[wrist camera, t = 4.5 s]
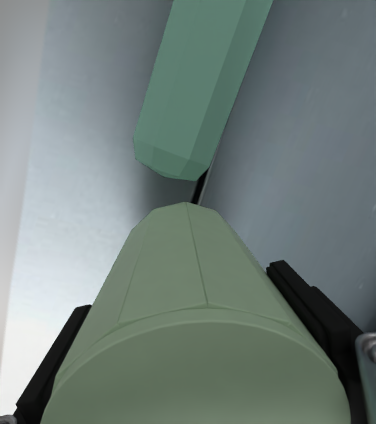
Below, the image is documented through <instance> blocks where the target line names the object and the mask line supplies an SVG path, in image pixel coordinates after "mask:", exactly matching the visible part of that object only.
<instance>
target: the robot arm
mask: <svg viewBox="0 0 376 424" xmlns="http://www.w3.org/2000/svg"><path fill="white" fill-rule="evenodd" d="M266 272H267V275H268V276H269V278H270V279H271V281H272V282H273V283H274V285H275V286H276V287H277V289H278V290H279V291H280V293H281V294H282V295H283V297H284V298H285V299H286V301H287V302H288V304H289V305H290V306H291V308H292V309H293V310H294V312H295V313H296V314H297V316H298V317H299V318H300V320H301V321H302V323H303V324H304V325H305V327H306V328H307V329H308V331H309V332H310V333H311V335H312V336H313V337H314V339H315V340H316V341H317V343H318V344H319V346H320V347H321V348H322V349H323V351H324V352H325V354H326V355H327V356H328V358H329V359H330V360H331V362H332V363H333V364H334V366H335V367H336V369H337V371H338V378H339V380H340V382H341V383H342V385H343V387H344V390H345V393H346V396H347V399H348V402H349V407H350V414H351V424H376V332H367V333H364V332H362V331H361V330H360V329H359V328H358V327H357V326H356V325H355V324H354V323H353V322H352V321H351V320H350V319H349V318H348V317H347V316H346V315H345V314H344V313H343V312H342V311H341V310H340V309H339V308H338V307H337V306H336V305H335V304H334V303H333V302H332V301H331V300H330V299H329V298H328V297H326V296H325V295H324V294H323V293H322V292H321V291H320V290H319V289H318V288H317V287H315V286H312V287H310V286H309V285H308V284H307V283H306V282H305V281H304V280H303V279H302V278H301V277H300V276H299V275H298V274H297V273H296V272H295V271H294V270H293V269H292V268H291V267H290V266H289V265H288V264H287V263H286V262H285V261H284V260H280V261H276V262H272V263H270V267H267V268H266ZM91 307H92V305H90V304H89V305H85V306H80V307H77V308H75V309H74V311H73V313H72V314H71V316H70V317H69V319H68V321H67V322H66V324H65V325H64V327H63V329H62V330H61V332H60V334H59V335H58V337H57V338H56V340H55V342H54V343H53V345H52V347H51V348H50V350H49V351H48V353H47V355H46V356H45V358H44V359H43V361H42V363H41V364H40V366H39V368H38V369H37V371H36V372H35V374H34V376H33V377H32V379H31V380H30V382H29V384H28V385H27V387H26V389H25V390H24V392H23V393H22V395H21V397H20V398H19V400H18V401H17V403H16V406H17V409H16V411H15V412H14V414H13V415H4V416H0V424H40V423H41V420H42V416H43V413H44V410H45V408H46V406H47V404H48V402H49V400H50V398H51V395H52V390H53V385H54V381H55V376H56V374H57V373H58V371H59V369H60V367H61V365H62V363H63V361H64V359H65V357H66V355H67V353H68V351H69V349H70V348H71V346H72V344H73V342H74V340H75V338H76V336H77V334H78V332H79V330H80V328H81V326H82V324H83V323H84V321H85V319H86V317H87V315H88V313H89V311H90V309H91Z"/></svg>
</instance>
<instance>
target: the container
mask: <svg viewBox="0 0 376 424" xmlns="http://www.w3.org/2000/svg"><path fill="white" fill-rule="evenodd" d="M272 2H273V0H174V1H173V4H172V8H171V11H170V14H169V18H168V21H167V24H166V28H165V31H164V35H163V38H162V41H161V45H160V48H159V51H158V55H157V58H156V62H155V65H154V68H153V72H152V75H151V78H150V82H149V85H148V89H147V92H146V95H145V99H144V102H143V105H142V109H141V112H140V116H139V119H138V122H137V126H136V129H135V132H134V136H133V143H134V151H135V159H136V160H138V161H139V162H141V163H142V164H144V165H145V166H147V167H149V168H150V169H152V170H153V171H155V172H157V173H158V174H160V175H161V176H163V177H167V178H175V179H183V180H191V181H196V180H197V179H198V178H199V177H200V176H201V175H202V174H203V173H204V172H205V171H206V170H207V169H208V168H209V167H210V164H211V161H212V159H213V156H214V154H215V151H216V148H217V146H218V143H219V141H220V138H221V135H222V133H223V130H224V128H225V125H226V122H227V120H228V117H229V114H230V112H231V109H232V107H233V104H234V101H235V99H236V96H237V94H238V91H239V88H240V86H241V83H242V81H243V78H244V75H245V73H246V70H247V68H248V65H249V62H250V60H251V57H252V54H253V52H254V49H255V47H256V44H257V41H258V39H259V36H260V34H261V31H262V28H263V26H264V23H265V21H266V18H267V15H268V13H269V10H270V7H271V5H272Z"/></svg>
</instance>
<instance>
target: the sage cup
mask: <svg viewBox="0 0 376 424" xmlns="http://www.w3.org/2000/svg"><path fill="white" fill-rule="evenodd" d="M40 424H351V414H350V407H349V402H348V399H347V396H346V393H345V390H344V387H343V385H342V383H341V382H340V380H339V378H338V371H337V369H336V367H335V366H334V364H333V363H332V362H331V360H330V359H329V358H328V356H327V355H326V354H325V352H324V351H323V349H322V348H321V347H320V346H319V344H318V343H317V341H316V340H315V339H314V337H313V336H312V335H311V333H310V332H309V331H308V329H307V328H306V327H305V325H304V324H303V323H302V321H301V320H300V318H299V317H298V316H297V314H296V313H295V312H294V310H293V309H292V308H291V306H290V305H289V304H288V302H287V301H286V299H285V298H284V297H283V295H282V294H281V293H280V291H279V290H278V289H277V287H276V286H275V285H274V283H273V282H272V281H271V279H270V278H269V276H268V275H267V274H266V272H265V271H264V270H263V268H262V267H261V266H260V264H259V263H258V262H257V260H256V259H255V258H254V256H253V255H252V253H251V252H250V251H249V249H248V248H247V247H246V245H245V244H244V243H243V241H242V240H241V239H240V237H239V236H238V235H237V233H236V232H235V231H234V230H233V229H232V227H231V226H230V225H229V224H228V223H227V222H226V221H225V220H224V219H223V218H222V217H221V216H220V214H219V213H218V212H217V211H215V210H212V209H209V208H206V207H202V206H199V205H195V204H192V203H189V202H182V203H177V204H173V205H169V206H164V207H160V208H156V209H153V210H152V211H151V212H150V213H149V214H148V215H147V216H146V217H145V218H144V219H143V220H142V221H141V222H139V223H138V224H137V225H136V226H135V227H134V228H133V229H132V230H131V232H130V234H129V236H128V238H127V240H126V242H125V244H124V246H123V248H122V249H121V251H120V253H119V255H118V257H117V259H116V261H115V263H114V265H113V267H112V269H111V271H110V273H109V274H108V276H107V278H106V280H105V282H104V284H103V286H102V288H101V290H100V292H99V294H98V296H97V298H96V299H95V301H94V303H93V305H92V307H91V309H90V311H89V313H88V315H87V317H86V319H85V321H84V323H83V324H82V326H81V328H80V330H79V332H78V334H77V336H76V338H75V340H74V342H73V344H72V346H71V348H70V349H69V351H68V353H67V355H66V357H65V359H64V361H63V363H62V365H61V367H60V369H59V371H58V373H57V374H56V376H55V381H54V385H53V390H52V395H51V398H50V400H49V402H48V404H47V406H46V408H45V410H44V413H43V416H42V420H41V423H40Z"/></svg>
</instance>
